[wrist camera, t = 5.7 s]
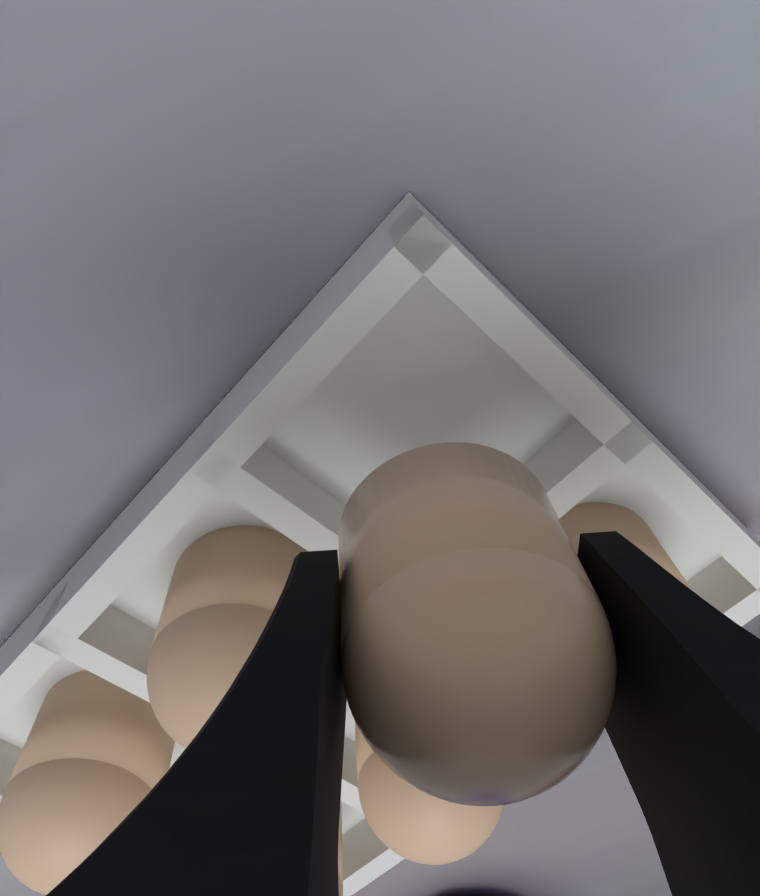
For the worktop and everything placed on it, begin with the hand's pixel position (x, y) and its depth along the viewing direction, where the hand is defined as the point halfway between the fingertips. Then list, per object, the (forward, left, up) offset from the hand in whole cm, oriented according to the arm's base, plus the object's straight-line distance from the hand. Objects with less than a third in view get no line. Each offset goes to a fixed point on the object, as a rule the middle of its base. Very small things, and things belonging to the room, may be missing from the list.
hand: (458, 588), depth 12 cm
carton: (+3, -7, -7) cm, 10 cm away
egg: (0, 0, -1) cm, 1 cm away
